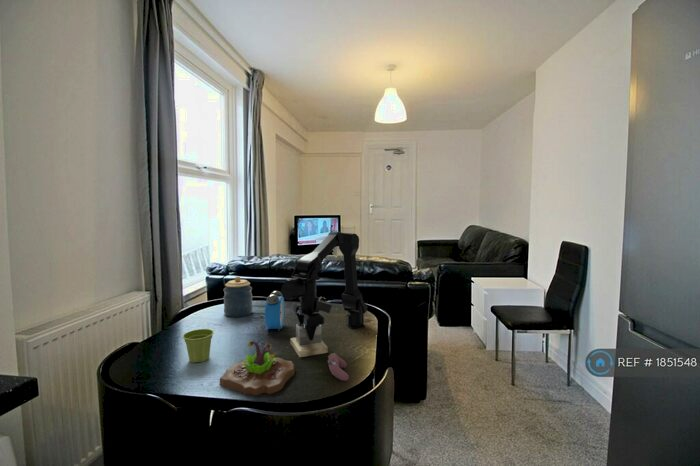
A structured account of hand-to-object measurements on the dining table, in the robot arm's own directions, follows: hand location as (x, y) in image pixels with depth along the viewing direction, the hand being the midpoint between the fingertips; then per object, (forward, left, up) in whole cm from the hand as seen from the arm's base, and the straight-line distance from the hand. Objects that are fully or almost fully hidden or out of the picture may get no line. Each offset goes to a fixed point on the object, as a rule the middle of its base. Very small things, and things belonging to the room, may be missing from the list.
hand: (308, 336), depth 127 cm
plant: (+20, +15, -5) cm, 25 cm away
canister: (+19, -52, -4) cm, 55 cm away
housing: (0, 0, -2) cm, 2 cm away
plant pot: (+36, -5, -4) cm, 37 cm away
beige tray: (0, 0, -4) cm, 4 cm away
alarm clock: (+7, -25, -4) cm, 26 cm away
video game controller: (-3, +23, -4) cm, 23 cm away
